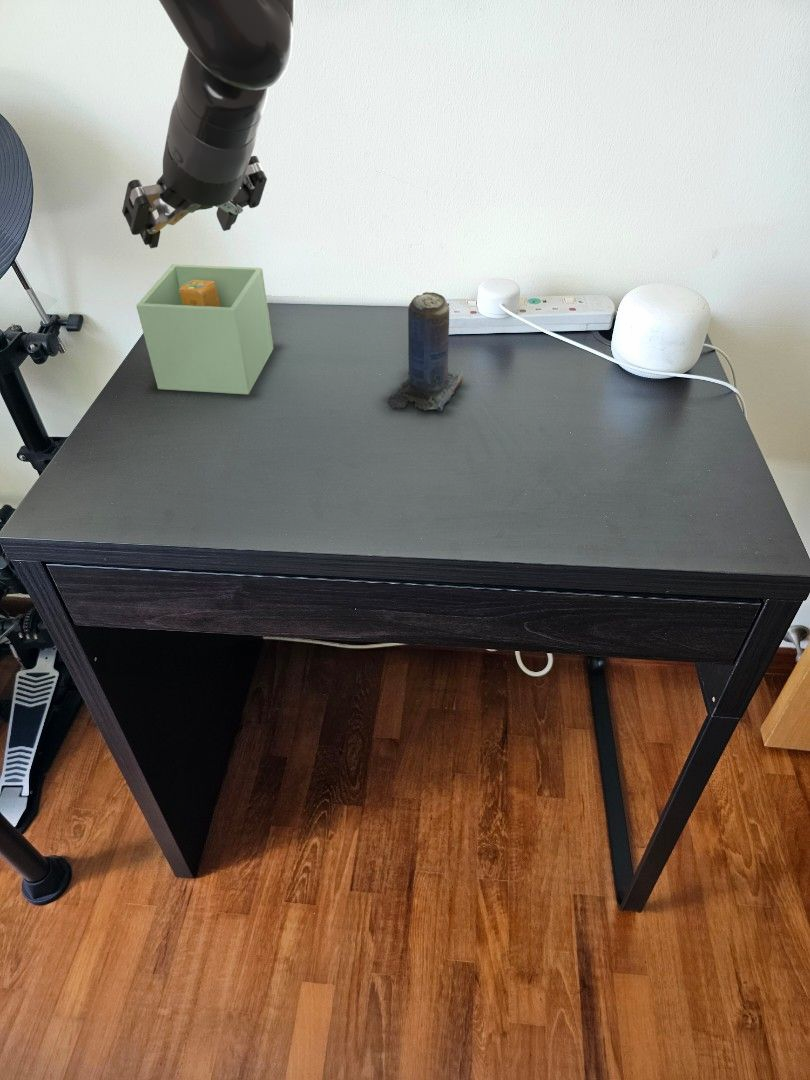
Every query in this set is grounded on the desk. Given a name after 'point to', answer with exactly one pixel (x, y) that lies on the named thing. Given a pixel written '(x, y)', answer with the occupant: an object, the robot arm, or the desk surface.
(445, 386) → the beverage can
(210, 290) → the supplement box
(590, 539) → the desk surface
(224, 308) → the trash bin
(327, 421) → the desk surface
